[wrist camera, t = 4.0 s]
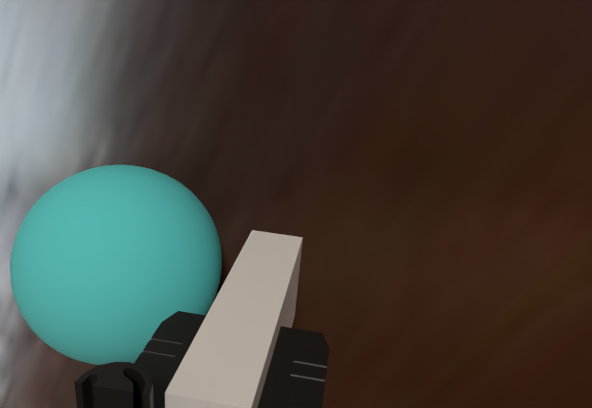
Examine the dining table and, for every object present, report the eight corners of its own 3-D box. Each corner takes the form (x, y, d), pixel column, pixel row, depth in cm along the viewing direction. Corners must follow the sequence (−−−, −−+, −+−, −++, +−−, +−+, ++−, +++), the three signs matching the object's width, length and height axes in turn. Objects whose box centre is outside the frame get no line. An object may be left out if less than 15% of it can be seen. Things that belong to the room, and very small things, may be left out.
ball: (61, 235, 10) (-37, 156, 14) (78, 451, 12) (-10, 334, 16) (269, 183, 14) (153, 133, 18) (254, 350, 16) (153, 276, 20)
